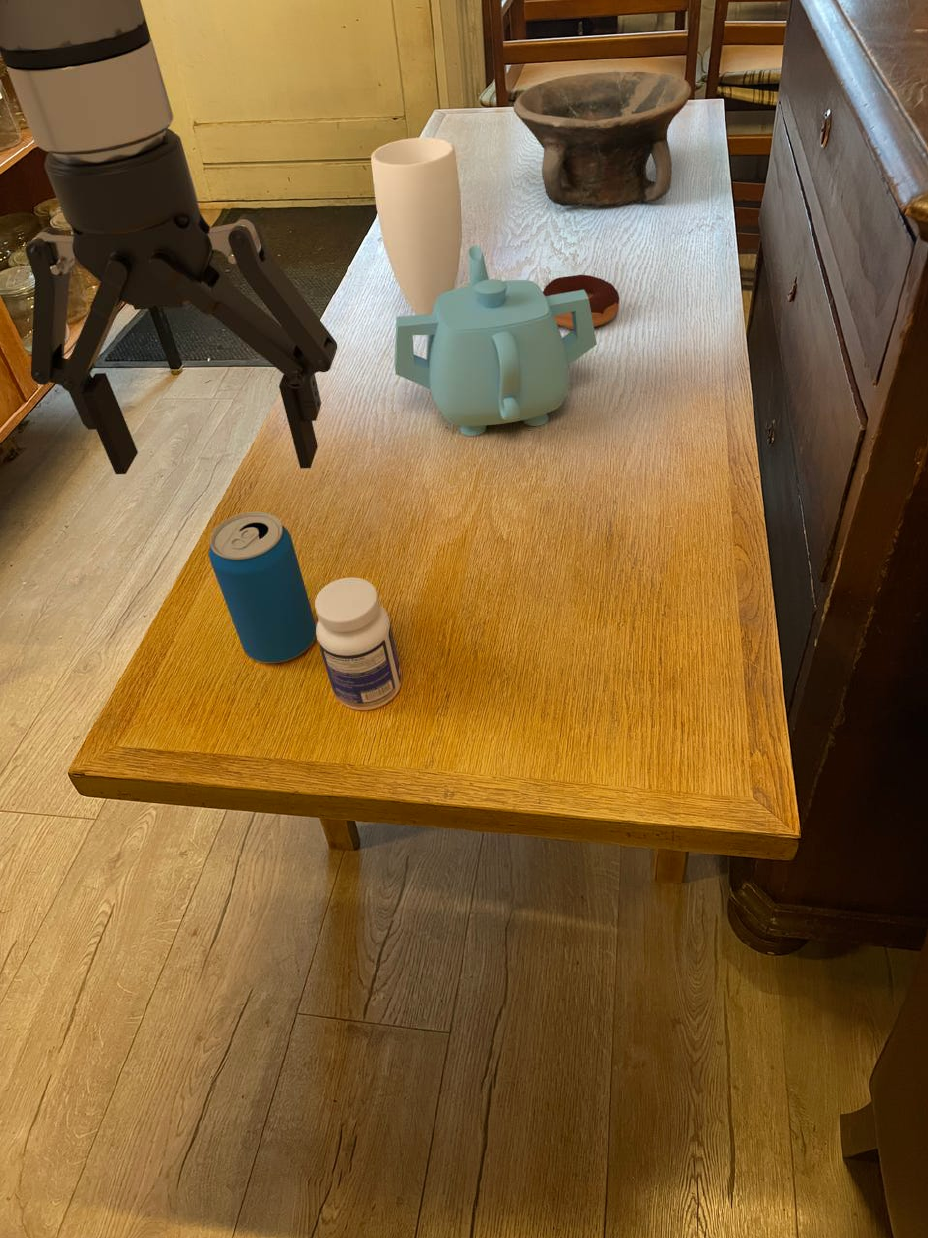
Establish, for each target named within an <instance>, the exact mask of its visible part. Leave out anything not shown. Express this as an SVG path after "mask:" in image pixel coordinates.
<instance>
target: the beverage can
mask: <svg viewBox="0 0 928 1238" xmlns="http://www.w3.org/2000/svg"><path fill="white" fill-rule="evenodd" d="M208 559H209V561H210V564H211V567H212V570H213V572H214V575H215V578H216V580H217V583H218V586H219V588H220V591H221V594H222V596H223V599H224V601H225V604H226V607H227V610H228V612H229V616H230V618H231V620H232V624H233V626H234V628H235V631H236V634H237V636H238V639H239V641H240V645H241V647H242V650H243V651H244V653H245V654H246V655H247V657H249V658H250V659H252V660H254V661H256V662H260V663H265V664H276V663H277V664H278V663H283V662H288V661H290V660H293V659H294V658H297V657H298V656H300V655H302V654H303V653H304V652H305V651H307V650H308V649H309V648H310V647H311V645H312V644H313V643H314V640H315V639H316V637H317V636H316V627H317V623H316V620H315V616H314V614H313V610H312V607H311V602H310V599H309V596H308V592H307V589H306V584H305V581H304V578H303V575H302V571H301V567H300V564H299V561H298V557H297V553H296V550H295V547H294V543H293V539H292V536H291V534H290V531H289V530H288V529H287V528H286V527H285V526H284V525H283V524H282V522H281V521H280V519H279V518H278V517H277V516H276V515H274V514H272V513H269V512H265V511H246V512H241V513H238V514H234V515H233V516H230V517H228V518H226V519H224V520H223V521H221V522H220V523H219V524H218V525H217V526H216V527H215V528H214V529H213V531H212V533H211V534H210V537H209V550H208Z"/></svg>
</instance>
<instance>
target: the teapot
mask: <svg viewBox="0 0 928 1238" xmlns="http://www.w3.org/2000/svg"><path fill="white" fill-rule="evenodd" d="M467 255H468V265H469V281H468V285H467V286H463V287H458V288H454V289H453V290H450V291H447V292H444V293H442V294H440V295H439V296H438V297H437V298H436V301H435V304H434V307H433V312H432V314H422V315H417V314H414V315H413V314H412V315H402V316H396V321H395V343H394V363H393V364H394V372H395V375H397V376H398V377H400V378H404V379H406V380H408V381H410V382H412V383H414V384H416V385H419V386H422V387H423V388H425V389H428V390H429V391H430V394H431V396H432V398H433V401H434V403H435V405H436V407H437V409H438V410H439V412H440V414H441V415H442V416H443V418H444V419H445V420H446V421H447V423H449V424H452V425H455V426H460V430H459V431H460V433H461V434H462V435H464V436H467V437H476V436H480V435H482V434H484V433H485V432H486V430H487V426H491V425H493V426H494V425H501V424H509V423H515V422H521V421H522V422H523V423H524V424H525V425H527V426H531V427H539V426H543V425H545V424H547V423H548V422H549V419H550V417H549V416H548V413H551V412H555V410H557V409H559V408H560V407H561V405H562V404H563V402H564V400H565V398H566V397H567V394H568V392H569V387H570V372H569V371H570V369H569V366H571V365H573V364H574V363H575V362H576V361H577V360H579V359H580V358H581V357H582V356H584V355H585V354H586V353H588V352H589V351H590V350H592V349H593V348H595V347H596V346H597V344H598V343H597V338H596V332H595V327H594V326H593V320H592V315H591V309H590V303H589V298H588V296H587V294H586V292H585V290H579V291H573V292H567V293H562V294H556V295H550V296H545V295H544V294H543V290H542V289H541V287H540V285H538V284H537V283H536V282H535V281H533V280H527V279H513V280H501V279H496V278H495V279H494V278H491V279H490V278H489V274H488V271H487V266H486V261H485V256H484V253H483V251H482V249H481V248H480V247H479V246H478V245H472V246H471V247H469V249H468V254H467ZM570 312H572V319H573V329H572V330H571V331H570V332H568V333H567V334H565V335H564V336H562V333H561V331H560V328H559V325H558V324H557V322H556V320H555V316H559V315H562V314H566V313H570ZM414 336H427V338H426V358H424V357H422V356H419V355H416V354H415V353H414V352H415V351H414Z"/></svg>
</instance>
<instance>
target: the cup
mask: <svg viewBox="0 0 928 1238" xmlns="http://www.w3.org/2000/svg"><path fill="white" fill-rule="evenodd" d="M370 163H371V171H372V172H371V173H372V181H373V189H374V199H375V207H376V212H377V217H378V221H379V227H380V232H381V237H382V244H383V246H384V250H385V252H386V255H387V258H388V261H389V264H390V266H391V270H392V273H393V275H394V278H395V280H396V282H397V284H398V286H399V288H400V290H401V293H402V294H403V297H404V299H405V301H406V302H407V303H408V305H409V307H410V309H411V311H412V312H413V313H414V314H415V315H422V314H432V312H433V307H434V304H435V301H436V298H437V297H438V296H439V295H440V294H442V293H444V292H447V291H450V290H453V289H456V288H455V287H456V284H457V279H458V275H459V269H460V258H461V249H462V242H463V241H462V239H463V224H462V223H463V222H462V221H463V220H462V196H461V187H460V180H459V170H458V162H457V153H456V148H455V146H454V144H453V143H452V142H450V141H448V140H446V139H444V138H443V139H442V138H437V137H412V138H404V139H400V140H395V141H391V142H389V143H386V144H384V145H381V146H379V147H377V148H376V149H375V150H374V151H373V152H372V153H371V156H370Z"/></svg>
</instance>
